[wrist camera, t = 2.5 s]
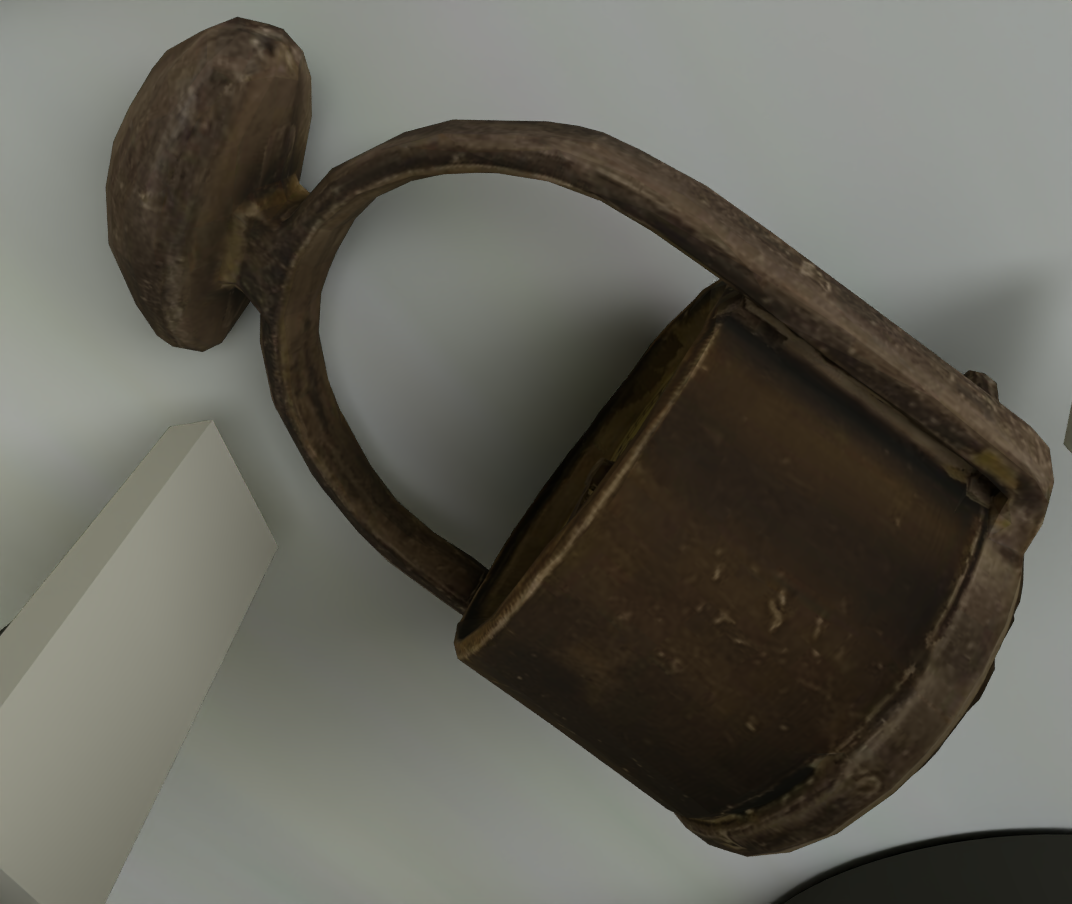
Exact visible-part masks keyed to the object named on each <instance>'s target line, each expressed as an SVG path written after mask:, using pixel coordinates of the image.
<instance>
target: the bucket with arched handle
mask: <svg viewBox="0 0 1072 904" xmlns="http://www.w3.org/2000/svg"><path fill="white" fill-rule="evenodd" d="M311 117H312V104H311V76H310V72H309V69H308V66H307V63H306V60H305V56H304V53H303V51H302V50H301V48H300V47H299V46H298V45H297V44H296V43H295V42H294V41H293V40H292V38H291V37H290V36H289V35H288V34H287V33H286V32H285V31H284V29H281V28H278V27H276V26H273V25H270V24H266V23H262V22H257V21H253V20H249V19H244V18H240V17H236V18H233V19H231V20H228V21H226V22H223V23H220V24H218V25H215V26H213V27H210V28H208V29H205V30H203V31H201V32H199V33H197V34H195V35H194V36H192V37H190V38H188V39H187V40H185V41H183V42H181V43H179V44H178V45H176V46H174V47H172V48H171V49H169V50H167V51H166V52H165V53H164V55H163V56H162V57H161V58H160V60H159V61H158V62H157V63H156V65H155V66H154V67H153V68H152V70H151V72H150V73H149V75H148V77H147V78H146V80H145V82H144V83H143V85H142V87H141V88H140V90H139V92H138V93H137V95H136V97H135V98H134V100H133V102H132V103H131V105H130V107H129V109H128V111H127V113H126V115H125V118H124V120H123V122H122V124H121V126H120V128H119V131H118V133H117V135H116V137H115V139H114V142H113V147H112V153H111V159H110V165H109V171H108V177H107V183H106V203H107V222H108V241H109V246H110V248H111V250H112V253H113V255H114V257H115V259H116V261H117V264H118V266H119V268H120V270H121V272H122V275H123V277H124V279H125V281H126V284H127V286H128V288H129V290H130V292H131V295H132V297H133V299H134V301H135V303H136V305H137V307H138V308H139V310H140V311H141V312H142V314H143V315H144V317H145V318H146V320H147V321H148V323H149V324H150V326H151V327H152V329H153V330H154V332H155V333H156V335H157V336H159V337H160V338H161V339H163V340H164V341H166V342H167V343H169V344H170V345H172V346H173V347H178V348H184V349H189V350H195V351H200V352H203V351H206V350H208V349H210V348H212V347H214V346H216V345H218V344H220V343H222V342H223V340H224V339H225V337H226V336H227V334H228V333H229V331H230V330H231V329H232V327H233V326H234V324H235V323H236V321H237V320H238V318H239V317H240V316H241V314H242V313H243V311H244V310H245V308H246V307H247V305H248V304H249V303H250V301H251V302H252V304H253V305H254V306H255V307H256V309H257V310H258V311H259V312H260V344H261V349H262V354H263V358H264V363H265V368H266V373H267V377H268V382H269V387H270V392H271V397H272V400H273V403H274V405H275V407H276V409H277V411H278V413H279V415H280V417H281V418H282V420H283V422H284V424H285V426H286V428H287V429H288V431H289V433H290V435H291V437H292V439H293V441H294V442H295V444H296V446H297V448H298V450H299V452H300V453H301V455H302V457H303V459H304V461H305V463H306V464H307V466H308V468H309V470H310V472H311V474H312V475H313V476H314V478H315V479H316V480H317V482H318V483H319V484H320V486H321V487H322V489H323V490H324V491H325V492H326V493H327V495H328V496H329V497H330V498H331V500H332V501H333V502H334V503H335V504H336V506H337V507H338V508H339V509H340V511H341V512H342V513H343V514H344V516H345V517H346V518H347V519H348V520H349V522H350V523H351V524H352V525H353V527H354V528H355V529H356V530H357V531H358V532H359V533H360V534H361V535H362V536H363V537H364V538H365V539H366V540H367V541H368V542H369V543H370V544H371V545H372V546H373V547H374V548H375V549H376V550H377V551H378V552H379V553H380V554H381V555H382V556H383V557H384V558H385V559H386V560H387V561H388V562H390V563H391V564H392V565H394V566H395V567H397V568H398V569H399V570H401V571H402V572H403V573H405V574H406V575H407V576H409V577H410V578H411V579H413V580H414V581H416V582H417V583H418V584H420V585H421V586H422V587H424V588H425V589H426V590H428V591H429V592H430V593H432V594H433V595H435V596H436V597H438V598H439V599H440V600H442V601H443V602H445V603H446V604H447V605H449V606H450V607H452V608H453V609H454V610H456V611H457V612H459V613H460V614H462V615H463V617H462V619H461V621H460V622H459V623H458V624H457V629H456V635H455V640H454V646H455V650H456V654H457V658H458V659H459V660H460V661H462V662H463V663H465V664H466V665H467V666H469V667H470V668H472V669H473V670H475V671H476V672H477V673H479V674H480V675H482V676H483V677H485V678H486V679H487V680H489V681H490V682H492V683H493V684H494V685H496V686H497V687H499V688H500V689H502V690H503V691H504V692H506V693H507V694H509V695H510V696H512V697H513V698H514V699H516V700H517V701H519V702H520V703H521V704H523V705H524V706H526V707H527V708H529V709H530V710H531V711H533V712H534V713H536V714H537V715H539V716H540V717H541V718H543V719H544V720H546V721H547V722H548V723H550V724H551V725H553V726H554V727H555V728H557V729H558V730H560V731H561V732H562V733H564V734H565V735H566V736H568V737H569V738H571V739H572V740H573V741H575V742H576V743H577V744H579V745H580V746H582V747H583V748H584V749H586V750H587V751H588V752H590V753H591V754H593V755H594V756H595V757H597V758H598V759H599V760H601V761H602V762H603V763H605V764H606V765H608V766H609V767H610V768H612V769H613V770H614V771H616V772H617V773H619V774H620V775H621V776H623V777H624V778H625V779H627V780H628V781H630V782H631V783H632V784H634V785H635V786H636V787H638V788H639V789H641V790H642V791H643V792H645V793H646V794H647V795H649V796H650V797H651V798H653V799H654V800H656V801H657V802H658V803H660V804H661V805H662V806H664V807H665V808H667V809H668V810H670V811H672V812H674V814H675V815H676V816H677V817H678V818H679V820H680V821H681V822H682V823H683V825H684V826H685V827H686V828H687V829H689V830H690V831H691V832H693V833H694V834H695V835H697V836H698V837H699V838H701V839H702V840H703V841H705V842H706V843H707V844H709V845H712V846H715V847H718V848H720V849H723V850H727V851H730V852H733V853H737V854H740V855H743V856H747V857H749V856H759V855H768V854H778V853H788V852H792V851H794V850H797V849H799V848H802V847H804V846H807V845H810V844H812V843H815V842H817V841H820V840H822V839H825V838H827V837H830V836H832V835H835V834H837V833H839V832H840V831H842V830H843V829H844V828H846V827H847V826H849V825H850V824H851V823H853V822H854V821H856V820H857V819H858V818H860V817H861V816H863V815H864V814H865V813H867V812H868V811H870V810H871V809H873V808H874V807H875V806H877V805H878V804H880V803H881V802H882V801H884V800H885V799H887V798H888V797H889V796H891V795H892V794H893V793H895V792H896V791H897V790H898V789H899V788H900V787H901V786H902V785H903V784H904V783H905V782H906V781H907V780H908V779H909V778H910V777H911V776H913V775H914V774H915V773H916V772H917V771H919V770H920V769H921V768H922V767H923V766H924V765H925V764H926V763H927V762H928V761H929V760H930V759H931V758H932V757H933V756H934V755H935V754H936V752H937V751H938V750H939V749H940V747H941V746H942V745H943V743H944V742H945V740H946V739H947V738H948V737H949V735H950V734H951V733H952V731H953V730H954V729H955V728H956V726H957V725H958V724H959V722H960V721H961V720H962V718H963V717H964V715H965V714H966V713H967V712H968V711H969V709H970V708H971V707H972V706H973V705H974V704H975V703H976V702H977V701H978V700H979V699H980V698H981V696H982V694H983V692H984V690H985V688H986V686H987V684H988V682H989V680H990V678H991V676H992V674H993V672H994V670H995V657H996V655H997V653H998V651H999V649H1000V647H1001V644H1002V642H1003V640H1004V638H1005V636H1006V635H1007V633H1008V631H1009V629H1010V627H1011V626H1012V624H1013V622H1014V613H1015V611H1016V609H1017V607H1018V605H1019V603H1020V599H1021V593H1022V587H1023V566H1024V553H1025V552H1026V550H1027V548H1028V547H1029V545H1030V544H1031V542H1032V540H1033V539H1034V537H1035V535H1036V534H1037V532H1038V531H1039V529H1040V527H1041V526H1042V524H1043V521H1044V517H1045V514H1046V511H1047V507H1048V504H1049V500H1050V496H1051V492H1052V488H1053V484H1054V478H1053V470H1052V463H1051V456H1050V449H1049V447H1048V446H1047V445H1046V443H1045V442H1044V441H1043V440H1042V439H1041V438H1040V437H1039V435H1038V434H1037V433H1036V432H1035V431H1034V430H1033V428H1032V427H1030V426H1029V425H1028V424H1027V423H1026V422H1024V421H1023V420H1022V419H1020V418H1019V417H1018V416H1017V415H1015V414H1014V413H1013V412H1011V411H1010V410H1009V409H1007V408H1006V407H1005V406H1003V405H1002V404H1001V403H999V399H998V390H997V383H996V382H995V381H993V380H992V379H991V378H990V377H988V376H987V375H986V374H984V373H980V372H975V371H971V370H969V371H968V372H966V373H965V374H964V375H963V374H961V373H960V372H959V371H957V370H956V369H955V368H953V367H952V366H950V365H949V364H948V363H946V362H945V361H944V360H942V359H941V358H940V357H938V356H937V355H936V354H934V353H933V352H932V351H930V350H929V349H928V348H926V347H925V346H924V345H922V344H921V343H920V342H918V341H917V340H916V339H914V338H913V337H912V336H910V335H909V334H908V333H906V332H905V331H904V330H902V329H901V328H900V327H898V326H897V325H895V324H894V323H893V322H891V321H890V320H889V319H887V318H886V317H885V316H883V315H882V314H881V313H879V312H878V311H877V310H875V309H874V308H873V307H871V306H870V305H869V304H867V303H866V302H865V301H863V300H862V299H861V298H859V297H858V296H857V295H855V294H854V293H853V292H851V291H850V290H848V289H847V288H846V287H844V286H843V285H842V284H840V283H839V282H838V281H836V280H835V279H834V278H832V277H831V276H830V275H828V274H827V273H826V272H824V271H823V270H822V269H820V268H819V267H818V266H816V265H815V264H814V263H812V262H811V261H810V260H808V259H807V258H806V257H804V256H803V255H801V254H800V253H799V252H797V251H796V250H795V249H793V248H792V247H791V246H789V245H788V244H787V243H785V242H784V241H783V240H781V239H780V238H779V237H777V236H776V235H775V234H773V233H772V232H771V231H769V230H768V229H766V228H765V227H764V226H762V225H761V224H759V223H758V222H756V221H755V220H754V219H752V218H751V217H749V216H748V215H747V214H745V213H744V212H742V211H741V210H740V209H738V208H737V207H735V206H734V205H733V204H731V203H730V202H728V201H727V200H725V199H724V198H723V197H721V196H720V195H718V194H717V193H716V192H714V191H713V190H711V189H710V188H709V187H707V186H706V185H704V184H702V183H700V182H698V181H696V180H695V179H693V178H691V177H689V176H687V175H685V174H684V173H682V172H680V171H678V170H676V169H674V168H673V167H671V166H669V165H667V164H665V163H663V162H662V161H660V160H658V159H656V158H654V157H652V156H651V155H649V154H647V153H645V152H643V151H641V150H639V149H637V148H635V147H633V146H631V145H629V144H627V143H625V142H622V141H620V140H618V139H616V138H614V137H612V136H610V135H608V134H605V133H603V132H600V131H596V130H592V129H588V128H584V127H580V126H576V125H569V124H561V123H554V122H547V121H497V120H449V121H446V122H442V123H438V124H434V125H430V126H427V127H423V128H419V129H415V130H411V131H408V132H404V133H402V134H400V135H398V136H396V137H394V138H392V139H390V140H388V141H386V142H384V143H382V144H380V145H378V146H376V147H374V148H372V149H370V150H368V151H366V152H364V153H362V154H360V155H358V156H356V157H354V158H352V159H350V160H348V161H346V162H344V163H342V164H340V165H338V166H336V167H334V168H332V169H331V170H330V171H329V172H328V174H327V175H326V176H325V177H324V178H323V179H322V180H321V182H320V183H319V184H318V185H317V186H316V187H315V188H314V190H313V191H312V192H311V193H309V192H308V191H307V190H306V189H305V188H304V187H302V186H301V185H300V184H299V181H300V176H301V171H302V165H303V160H304V155H305V149H306V144H307V139H308V133H309V128H310V122H311ZM460 173H500V174H506V175H512V176H519V177H525V178H531V179H537V180H543V181H549V182H551V183H554V184H557V185H559V186H562V187H565V188H567V189H570V190H573V191H575V192H578V193H581V194H584V195H586V196H589V197H592V198H594V199H597V200H600V201H602V202H604V203H605V204H607V205H609V206H610V207H612V208H614V209H615V210H617V211H619V212H620V213H622V214H624V215H625V216H627V217H629V218H631V219H632V220H634V221H636V222H637V223H639V224H641V225H642V226H644V227H646V228H647V229H649V230H651V231H652V232H654V233H655V234H657V235H658V236H660V237H661V238H662V239H664V240H665V241H667V242H668V243H670V244H671V245H672V246H674V247H675V248H677V249H678V250H680V251H681V252H682V253H684V254H685V255H687V256H688V257H690V258H691V259H692V260H694V261H695V262H697V263H698V264H700V265H701V266H703V267H704V268H705V269H707V270H708V271H709V272H711V273H712V274H714V275H715V276H716V277H718V278H719V280H718V281H716V282H715V283H713V284H711V285H710V286H708V287H707V288H705V289H703V290H702V291H701V292H700V294H699V295H698V296H697V297H696V298H695V299H694V300H693V301H692V302H691V303H690V304H689V305H688V306H687V307H686V308H685V309H684V310H683V311H682V312H681V313H680V314H679V315H678V316H677V317H676V318H675V319H673V320H672V321H671V322H670V323H669V324H668V325H667V326H666V328H665V329H664V330H663V331H662V332H661V333H660V334H659V335H658V336H657V338H656V339H655V340H654V341H653V343H652V344H651V345H650V347H649V348H648V350H647V351H646V352H645V354H644V355H643V357H642V358H641V359H640V361H639V362H638V363H637V365H636V366H635V368H634V369H633V370H632V372H631V373H630V375H629V376H628V377H627V378H626V380H625V381H624V382H623V383H622V385H621V386H620V387H619V388H618V390H617V391H616V392H615V393H614V395H613V396H612V397H611V398H610V400H609V401H608V402H607V403H606V405H605V406H604V407H603V408H602V410H601V411H600V412H599V414H598V415H597V417H596V418H595V420H594V421H593V423H592V424H591V426H590V427H589V428H588V430H587V431H586V432H585V433H584V435H583V436H582V437H581V438H580V440H579V441H578V442H577V443H576V445H575V446H574V447H573V448H572V450H571V451H570V452H569V453H568V455H567V456H566V457H565V459H564V460H563V461H562V463H561V464H560V466H559V467H558V468H557V470H556V471H555V472H554V474H553V475H552V476H551V478H550V479H549V480H548V482H547V483H546V484H545V486H544V487H543V488H542V490H541V491H540V493H539V494H538V496H537V497H536V499H535V500H534V501H533V503H532V504H531V506H530V507H529V509H528V510H527V512H526V513H525V515H524V516H523V518H522V519H521V520H520V522H519V523H518V525H517V526H516V527H515V529H514V530H513V532H512V533H511V535H510V537H509V538H508V540H507V541H506V543H505V545H504V546H503V548H502V549H501V551H500V553H499V554H498V556H497V557H496V559H495V561H494V563H493V565H492V567H491V568H490V570H488V569H487V568H486V567H484V566H483V565H482V564H480V563H479V562H478V561H477V560H475V559H474V558H473V557H471V556H470V555H468V554H467V553H465V552H464V551H462V550H460V549H459V548H457V547H456V546H454V545H453V544H451V543H450V542H448V541H447V540H445V539H443V538H442V537H440V536H439V535H437V534H436V533H434V532H433V531H432V530H431V529H429V528H428V527H427V526H426V525H425V524H424V523H422V522H421V521H420V520H419V519H418V518H416V517H415V516H414V515H413V514H412V513H411V512H409V511H408V510H407V509H406V508H405V507H404V506H402V505H401V504H400V503H399V502H398V501H397V500H396V499H395V497H394V496H393V495H392V493H391V492H390V491H389V489H388V488H387V487H386V485H385V484H384V483H383V481H382V480H381V479H380V477H379V476H378V475H377V473H376V472H375V471H374V469H373V468H372V467H371V465H370V463H369V462H368V460H367V458H366V456H365V454H364V453H363V451H362V449H361V447H360V445H359V443H358V442H357V440H356V438H355V436H354V434H353V433H352V431H351V429H350V427H349V425H348V423H347V422H346V420H345V418H344V416H343V414H342V412H341V411H340V409H339V406H338V404H337V401H336V399H335V396H334V393H333V391H332V388H331V386H330V383H329V381H328V376H327V371H326V366H325V362H324V357H323V352H322V347H321V342H320V337H319V317H320V302H321V291H322V289H323V286H324V283H325V280H326V277H327V274H328V271H329V268H330V266H331V264H332V261H333V259H334V257H335V254H336V252H337V250H338V248H339V246H340V245H341V243H342V241H343V239H344V237H345V236H346V234H347V232H348V230H349V228H350V227H351V225H352V223H353V221H354V219H355V218H356V217H357V216H358V215H359V214H360V213H361V212H362V211H363V210H364V209H365V208H366V207H367V206H368V205H369V204H370V203H371V202H372V201H373V200H374V199H375V198H376V197H377V196H380V195H382V194H384V193H386V192H388V191H391V190H393V189H395V188H397V187H399V186H402V185H404V184H406V183H408V182H410V181H414V180H418V179H423V178H428V177H433V176H437V175H442V174H460Z"/></svg>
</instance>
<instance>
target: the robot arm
mask: <svg viewBox="0 0 1072 904" xmlns="http://www.w3.org/2000/svg"><path fill="white" fill-rule="evenodd" d="M1064 445H1065V446H1066V448H1067V449H1068V450H1069V451H1070V452H1071V453H1072V404H1071V409H1070V414H1069V419H1068V424H1067V429H1066V434H1065V439H1064ZM277 548H278V545H277V543H276V541H275V539H274V537H273V536H272V534H271V532H270V530H269V528H268V526H267V524H266V522H265V520H264V518H263V516H262V514H261V512H260V510H259V508H258V507H257V505H256V503H255V501H254V499H253V497H252V495H251V493H250V491H249V489H248V487H247V485H246V483H245V481H244V480H243V478H242V476H241V474H240V472H239V470H238V468H237V466H236V464H235V462H234V460H233V458H232V456H231V454H230V453H229V451H228V449H227V447H226V445H225V443H224V441H223V439H222V437H221V435H220V433H219V431H218V429H217V427H216V425H215V424H214V422H213V420H209V421H202V422H196V423H190V424H184V425H177V426H171V427H169V428H168V430H167V431H166V432H165V433H164V435H163V436H162V437H161V438H160V440H159V441H158V442H157V443H156V444H155V446H154V447H153V448H152V449H151V451H150V452H149V453H148V454H147V456H146V457H145V458H144V459H143V461H142V462H141V463H140V464H139V465H138V467H137V468H136V469H135V470H134V472H133V473H132V474H131V475H130V477H129V478H128V479H127V480H126V481H125V483H124V484H123V485H122V486H121V488H120V489H119V490H118V491H117V493H116V494H115V495H114V496H113V498H112V499H111V500H110V501H109V502H108V504H107V505H106V506H105V507H104V509H103V510H102V511H101V512H100V514H99V515H98V516H97V517H96V519H95V520H94V521H93V522H92V523H91V525H90V526H89V527H88V528H87V530H86V531H85V532H84V533H83V535H82V536H81V537H80V538H79V539H78V541H77V542H76V543H75V544H74V546H73V547H72V548H71V549H70V551H69V552H68V553H67V554H66V556H65V557H64V558H63V559H62V560H61V562H60V563H59V564H58V565H57V567H56V568H55V569H54V570H53V572H52V573H51V574H50V575H49V577H48V578H47V579H46V580H45V581H44V583H43V584H42V585H41V586H40V588H39V589H38V590H37V591H36V593H35V594H34V595H33V596H32V597H31V599H30V600H29V601H28V602H27V604H26V605H25V606H24V607H23V609H22V610H21V611H20V612H19V614H18V615H17V616H16V617H15V618H14V620H13V621H12V622H10V623H9V624H8V625H7V626H5V627H4V628H3V629H2V630H1V631H0V904H105V903H106V900H107V898H108V896H109V894H110V892H111V890H112V888H113V886H114V884H115V882H116V880H117V878H118V876H119V874H120V872H121V870H122V868H123V865H124V863H125V861H126V859H127V857H128V855H129V853H130V851H131V849H132V847H133V845H134V843H135V841H136V839H137V837H138V835H139V833H140V830H141V828H142V826H143V824H144V822H145V820H146V818H147V816H148V814H149V812H150V810H151V808H152V806H153V804H154V802H155V800H156V798H157V795H158V793H159V791H160V789H161V787H162V785H163V783H164V781H165V779H166V777H167V775H168V773H169V771H170V769H171V767H172V765H173V762H174V760H175V758H176V756H177V754H178V752H179V750H180V748H181V746H182V744H183V742H184V740H185V738H186V736H187V734H188V732H189V730H190V727H191V725H192V723H193V721H194V719H195V717H196V715H197V713H198V711H199V709H200V707H201V705H202V703H203V701H204V699H205V697H206V695H207V692H208V690H209V688H210V686H211V684H212V682H213V680H214V678H215V676H216V674H217V672H218V670H219V668H220V666H221V664H222V662H223V660H224V657H225V655H226V653H227V651H228V649H229V647H230V645H231V643H232V641H233V639H234V637H235V635H236V633H237V631H238V629H239V627H240V624H241V622H242V620H243V618H244V616H245V614H246V612H247V610H248V608H249V606H250V604H251V602H252V600H253V598H254V596H255V594H256V592H257V589H258V587H259V585H260V583H261V581H262V579H263V577H264V575H265V573H266V571H267V569H268V567H269V565H270V563H271V561H272V559H273V557H274V554H275V552H276V550H277ZM784 904H1072V835H1021V836H1007V837H994V838H986V839H977V840H969V841H963V842H956V843H950V844H944V845H939V846H934V847H928V848H924V849H919V850H915V851H911V852H906V853H902V854H899V855H895V856H891V857H888V858H884V859H881V860H878V861H874V862H871V863H868V864H865V865H862V866H859V867H857V868H854V869H851V870H849V871H846V872H843V873H841V874H839V875H836V876H834V877H831V878H829V879H827V880H825V881H823V882H821V883H819V884H816V885H814V886H812V887H810V888H809V889H807V890H805V891H803V892H801V893H800V894H798V895H796V896H795V897H793V898H791V899H790V900H788V901H787V902H785V903H784Z"/></svg>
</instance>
